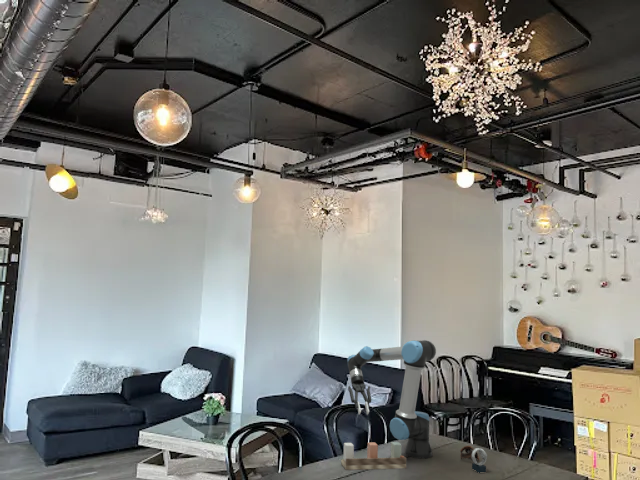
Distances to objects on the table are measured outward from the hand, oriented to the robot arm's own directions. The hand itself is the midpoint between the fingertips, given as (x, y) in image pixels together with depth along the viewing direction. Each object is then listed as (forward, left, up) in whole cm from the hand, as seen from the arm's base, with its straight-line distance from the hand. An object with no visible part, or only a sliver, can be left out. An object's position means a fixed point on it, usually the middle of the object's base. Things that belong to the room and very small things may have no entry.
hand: (363, 412), depth 266 cm
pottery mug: (-58, +13, -23) cm, 63 cm away
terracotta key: (0, +17, -20) cm, 26 cm away
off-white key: (+13, +17, -20) cm, 29 cm away
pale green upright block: (-13, +17, -20) cm, 29 cm away
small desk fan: (-53, +31, -22) cm, 65 cm away
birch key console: (0, +19, -22) cm, 29 cm away
